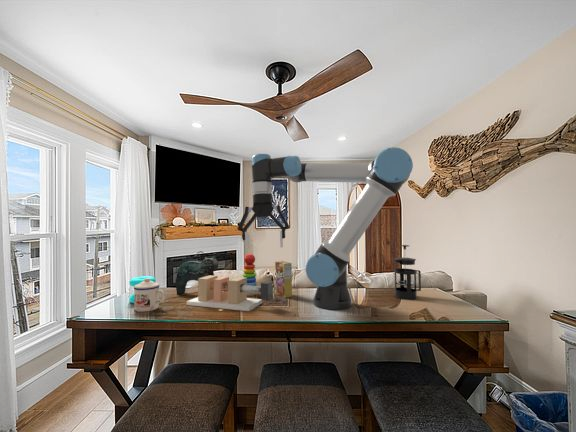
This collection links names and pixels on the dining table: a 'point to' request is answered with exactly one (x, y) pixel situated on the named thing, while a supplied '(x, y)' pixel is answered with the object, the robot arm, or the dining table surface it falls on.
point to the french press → (402, 291)
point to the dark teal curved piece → (194, 271)
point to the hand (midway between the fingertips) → (264, 247)
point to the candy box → (283, 278)
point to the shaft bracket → (223, 294)
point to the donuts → (137, 281)
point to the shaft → (257, 289)
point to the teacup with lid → (147, 296)
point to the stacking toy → (250, 272)
